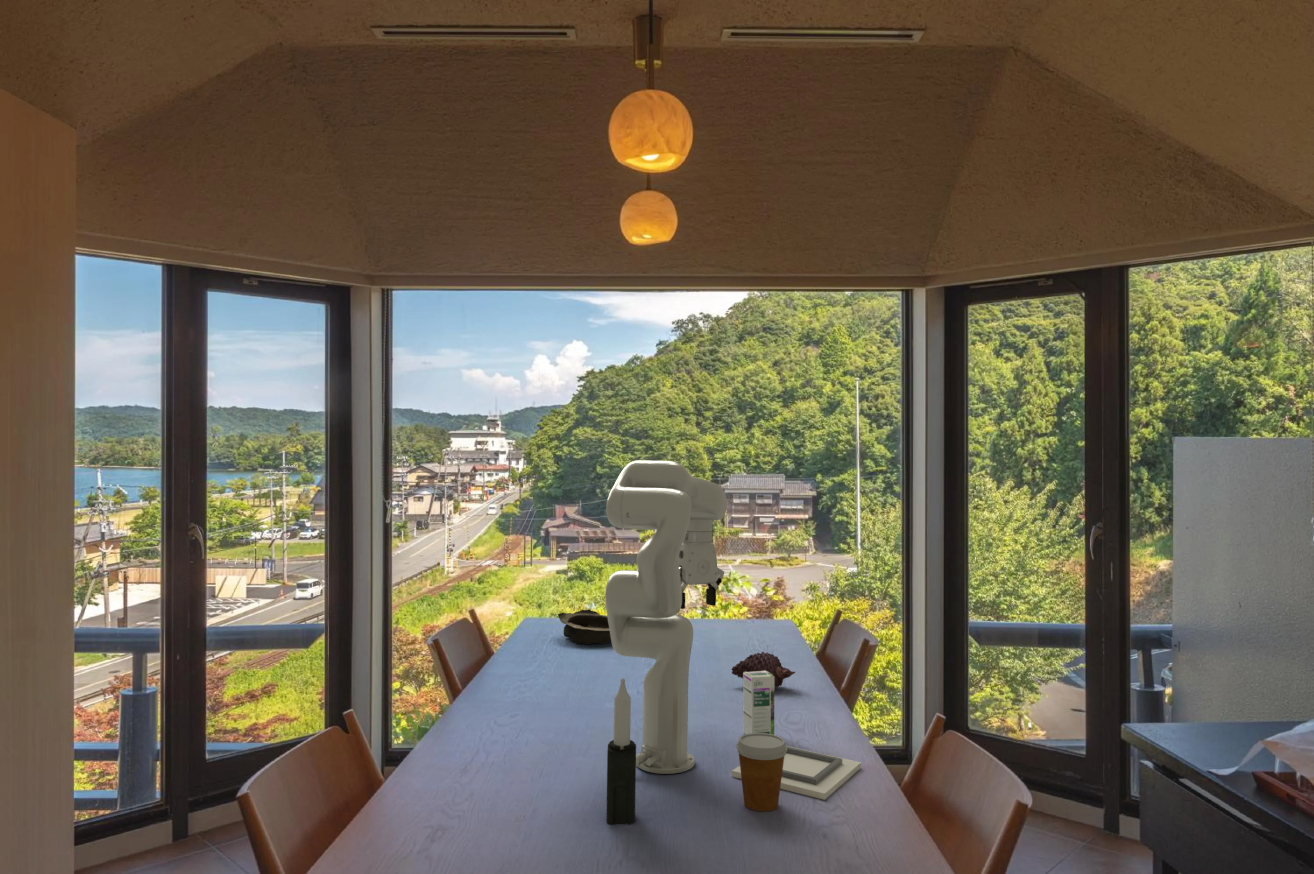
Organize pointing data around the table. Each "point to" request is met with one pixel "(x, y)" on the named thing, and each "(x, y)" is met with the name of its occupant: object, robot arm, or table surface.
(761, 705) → the syrup box
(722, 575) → the robot arm
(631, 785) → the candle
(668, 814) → the table surface
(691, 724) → the table surface
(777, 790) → the disposable coffee cup
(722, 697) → the table surface
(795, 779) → the baseplate
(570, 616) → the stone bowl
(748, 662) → the pine cone
